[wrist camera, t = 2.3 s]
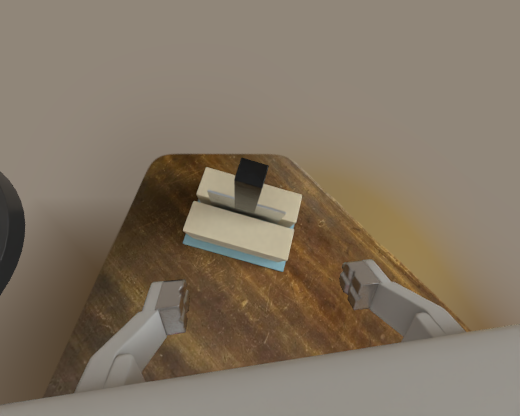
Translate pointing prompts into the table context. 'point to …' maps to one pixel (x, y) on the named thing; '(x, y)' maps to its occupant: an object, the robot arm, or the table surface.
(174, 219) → the table surface
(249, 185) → the slider knob post
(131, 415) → the robot arm
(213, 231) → the slide lever switch
